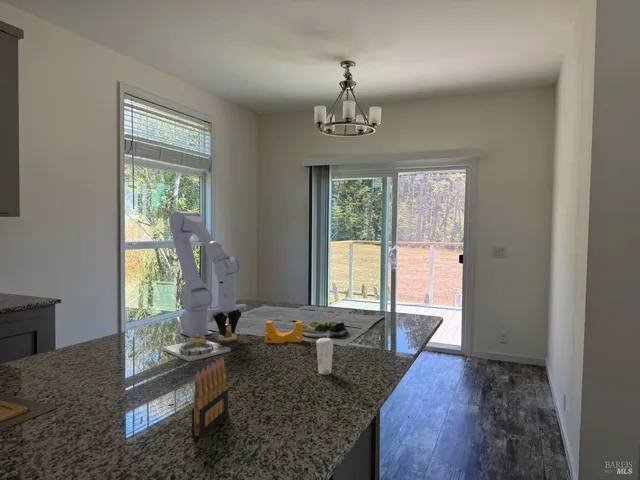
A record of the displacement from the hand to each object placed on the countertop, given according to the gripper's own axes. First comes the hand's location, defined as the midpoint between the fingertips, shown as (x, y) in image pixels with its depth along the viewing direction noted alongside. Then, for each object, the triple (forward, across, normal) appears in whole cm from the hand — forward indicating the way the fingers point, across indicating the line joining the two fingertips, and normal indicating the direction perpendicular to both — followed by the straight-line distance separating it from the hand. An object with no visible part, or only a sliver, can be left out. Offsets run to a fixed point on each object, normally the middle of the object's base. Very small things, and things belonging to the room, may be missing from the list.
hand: (227, 334), depth 146 cm
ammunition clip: (+2, -38, -50) cm, 63 cm away
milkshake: (+2, -1, -46) cm, 46 cm away
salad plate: (+2, +30, -17) cm, 35 cm away
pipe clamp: (+2, +12, -15) cm, 20 cm away
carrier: (+2, -14, -4) cm, 15 cm away
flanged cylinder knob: (+2, 0, 0) cm, 2 cm away
